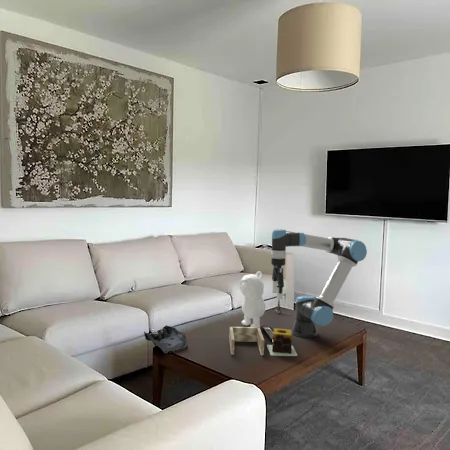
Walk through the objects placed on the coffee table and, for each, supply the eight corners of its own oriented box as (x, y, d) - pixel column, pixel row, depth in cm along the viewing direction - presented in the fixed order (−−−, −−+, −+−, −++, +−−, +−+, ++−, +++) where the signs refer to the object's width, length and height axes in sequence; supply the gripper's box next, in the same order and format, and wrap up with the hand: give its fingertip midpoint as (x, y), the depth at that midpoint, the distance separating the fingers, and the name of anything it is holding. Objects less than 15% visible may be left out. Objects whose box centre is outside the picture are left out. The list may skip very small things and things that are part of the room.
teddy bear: (250, 333, 255) (252, 275, 252) (232, 325, 269) (234, 270, 266) (273, 327, 266) (275, 272, 263) (255, 320, 280) (256, 268, 277)
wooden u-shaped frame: (258, 340, 242) (259, 327, 241) (263, 355, 221) (264, 340, 220) (229, 340, 241) (229, 326, 240) (231, 354, 220) (231, 339, 219)
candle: (291, 354, 222) (292, 335, 221) (272, 352, 223) (272, 333, 223) (291, 347, 232) (292, 329, 231) (272, 345, 233) (273, 327, 233)
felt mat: (292, 346, 235) (292, 345, 235) (297, 356, 221) (297, 354, 221) (266, 345, 234) (266, 344, 234) (270, 355, 220) (270, 354, 220)
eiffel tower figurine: (291, 314, 299) (292, 295, 298) (285, 317, 290) (286, 298, 289) (272, 310, 307) (273, 292, 306) (266, 313, 298) (266, 295, 297)
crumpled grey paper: (160, 356, 215) (160, 339, 214) (142, 344, 231) (142, 328, 230) (190, 349, 226) (190, 332, 225) (171, 338, 242) (171, 322, 241)
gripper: (267, 254, 243) (266, 290, 245) (276, 261, 219) (275, 301, 220) (280, 254, 244) (279, 290, 246) (290, 261, 219) (289, 301, 221)
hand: (277, 295), depth 233 cm, fingers open, 13 cm apart
